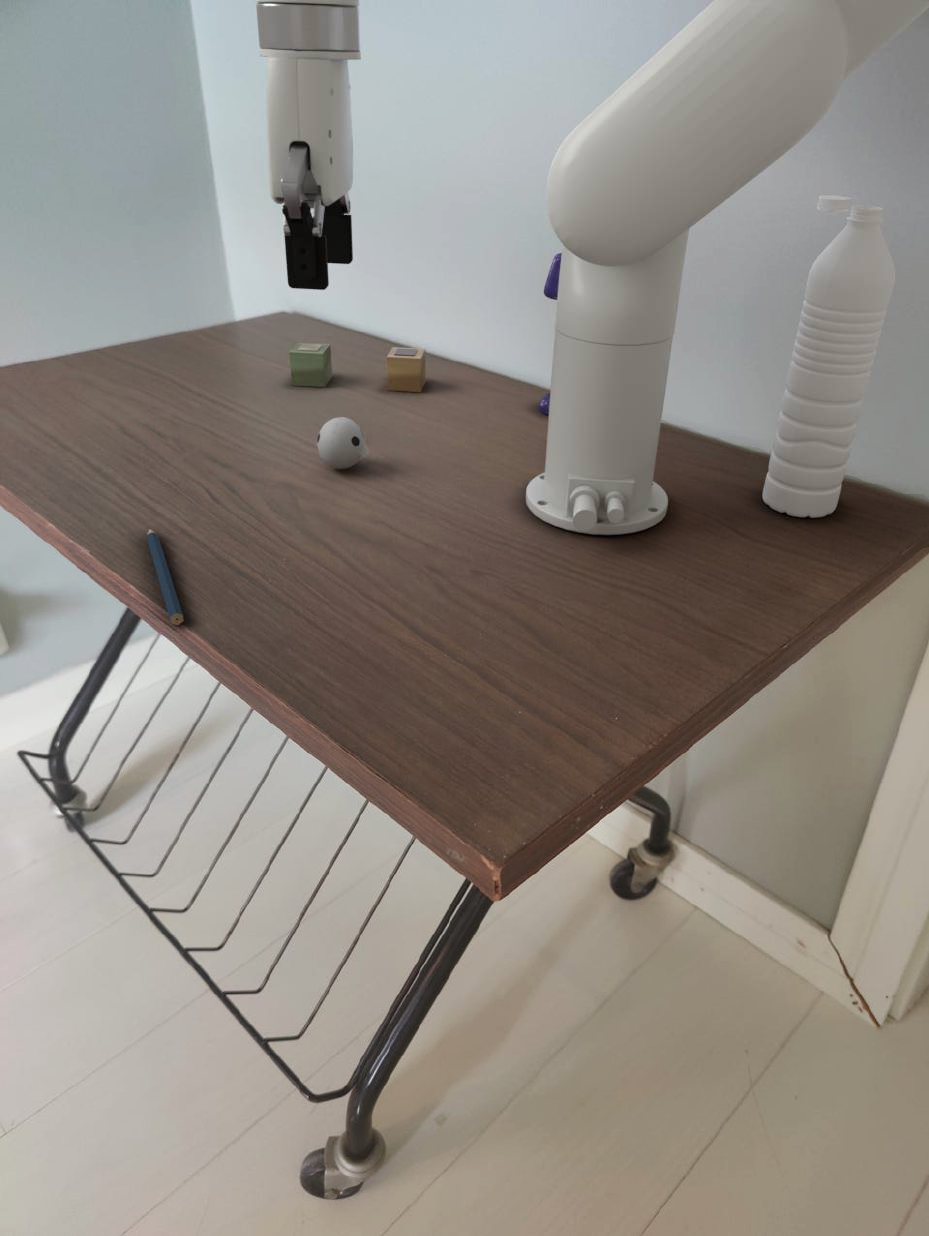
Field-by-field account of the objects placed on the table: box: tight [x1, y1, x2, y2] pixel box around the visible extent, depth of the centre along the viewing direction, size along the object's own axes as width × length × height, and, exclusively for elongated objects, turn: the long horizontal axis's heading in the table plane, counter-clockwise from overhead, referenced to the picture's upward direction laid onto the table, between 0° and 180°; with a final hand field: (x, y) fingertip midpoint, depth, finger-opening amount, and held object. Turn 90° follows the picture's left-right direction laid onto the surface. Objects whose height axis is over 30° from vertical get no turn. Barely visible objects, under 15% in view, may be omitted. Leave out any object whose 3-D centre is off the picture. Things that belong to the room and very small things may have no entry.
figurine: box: [316, 416, 370, 470], centre depth 87 cm, size 5×5×5 cm
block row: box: [288, 342, 427, 393], centre depth 108 cm, size 4×16×4 cm, turn 84°
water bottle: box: [762, 194, 896, 519], centre depth 77 cm, size 9×6×25 cm
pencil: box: [146, 528, 185, 626], centre depth 70 cm, size 1×1×15 cm
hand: (322, 274), depth 77 cm, fingers open, 9 cm apart
